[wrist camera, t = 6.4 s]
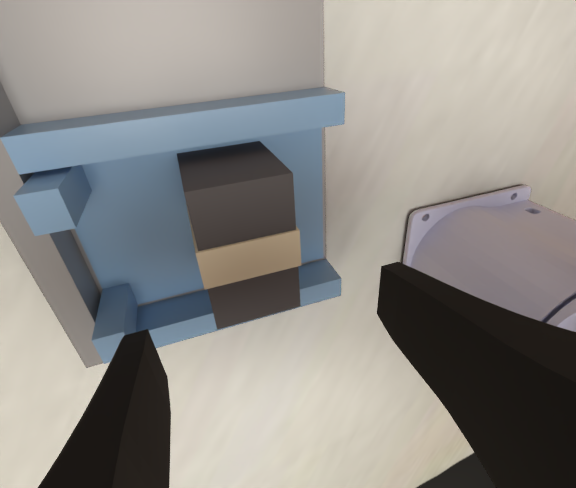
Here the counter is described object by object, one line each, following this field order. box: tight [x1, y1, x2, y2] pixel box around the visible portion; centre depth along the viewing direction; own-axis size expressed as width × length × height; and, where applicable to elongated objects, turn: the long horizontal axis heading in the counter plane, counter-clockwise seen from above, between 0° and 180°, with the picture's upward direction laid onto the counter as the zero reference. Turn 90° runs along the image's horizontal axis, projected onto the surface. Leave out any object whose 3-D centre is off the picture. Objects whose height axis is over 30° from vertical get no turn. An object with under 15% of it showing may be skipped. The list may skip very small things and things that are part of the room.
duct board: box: [0, 0, 345, 368], centre depth 13 cm, size 13×20×4 cm, turn 4°
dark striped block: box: [177, 141, 301, 330], centre depth 14 cm, size 4×6×5 cm, turn 3°
